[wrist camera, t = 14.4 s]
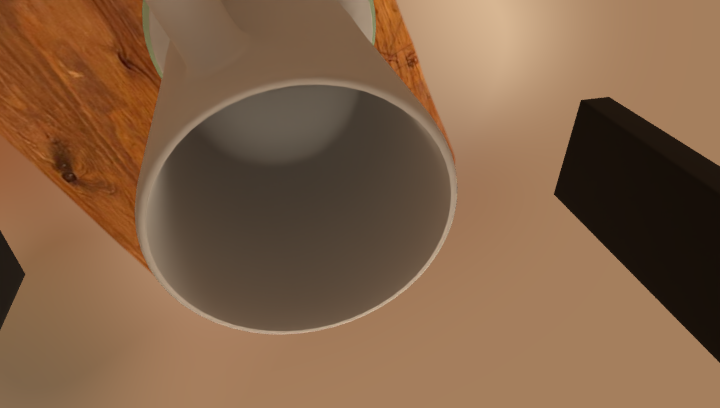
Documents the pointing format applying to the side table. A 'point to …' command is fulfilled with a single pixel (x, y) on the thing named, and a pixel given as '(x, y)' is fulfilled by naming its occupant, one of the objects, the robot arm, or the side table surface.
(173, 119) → the mug
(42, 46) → the side table surface
